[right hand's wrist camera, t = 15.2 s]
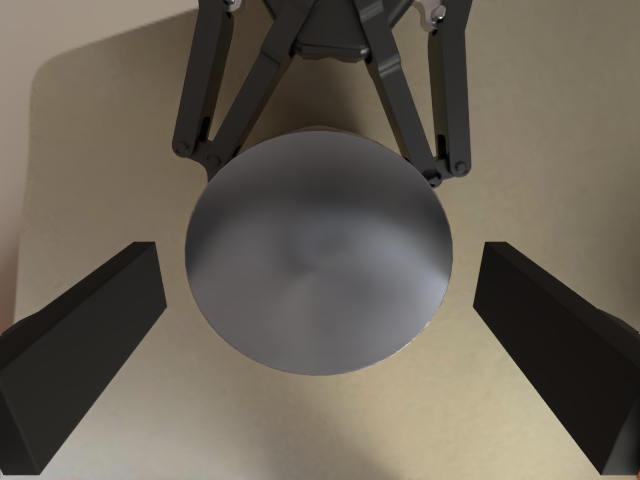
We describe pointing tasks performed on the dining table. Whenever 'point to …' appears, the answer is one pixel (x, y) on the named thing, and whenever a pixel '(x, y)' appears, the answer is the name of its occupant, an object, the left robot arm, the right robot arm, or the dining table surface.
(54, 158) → the dining table surface
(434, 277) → the lid
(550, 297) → the right robot arm
